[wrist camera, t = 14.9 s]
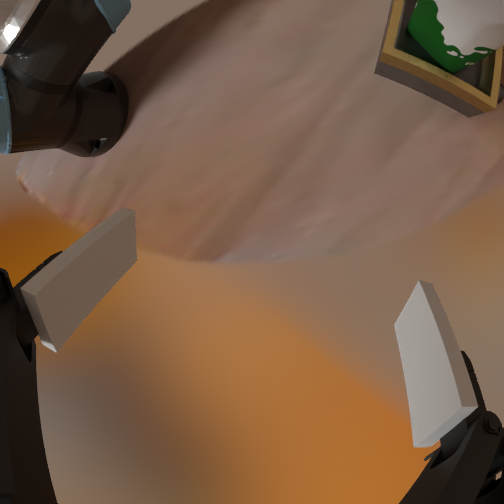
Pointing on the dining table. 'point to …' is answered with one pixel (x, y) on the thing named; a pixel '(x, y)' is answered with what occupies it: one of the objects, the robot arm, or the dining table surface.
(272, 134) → the dining table surface
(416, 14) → the soya milk
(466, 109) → the open square tray
